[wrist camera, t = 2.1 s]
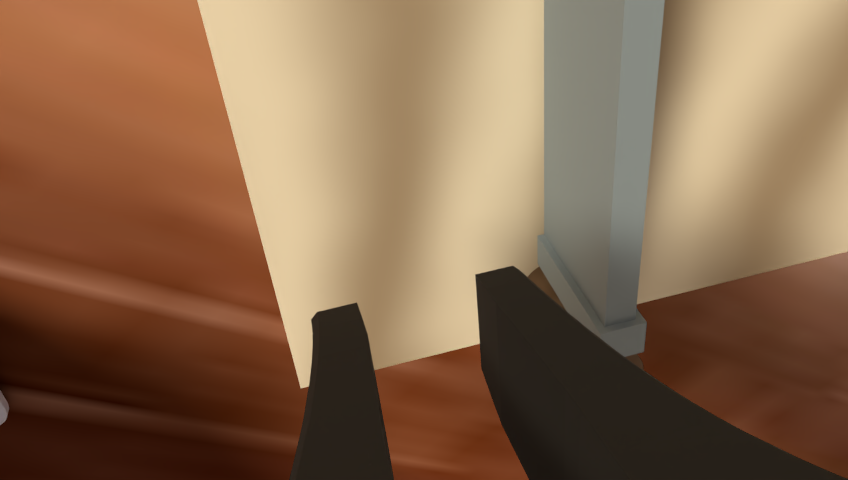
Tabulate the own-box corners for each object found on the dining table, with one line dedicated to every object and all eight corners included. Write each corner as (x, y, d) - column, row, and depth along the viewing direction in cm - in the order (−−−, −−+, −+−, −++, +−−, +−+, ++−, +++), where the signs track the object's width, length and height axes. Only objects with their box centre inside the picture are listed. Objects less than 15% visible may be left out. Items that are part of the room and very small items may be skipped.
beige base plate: (296, 365, 25) (326, 529, 20) (66, -507, 13) (5, -605, 8) (866, 225, 28) (1008, 340, 23) (1110, -593, 16) (1509, -700, 11)
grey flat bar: (533, -319, 15) (637, -313, 12) (594, -326, 15) (714, -324, 12) (537, 263, 23) (598, 363, 20) (576, 254, 23) (643, 351, 20)
